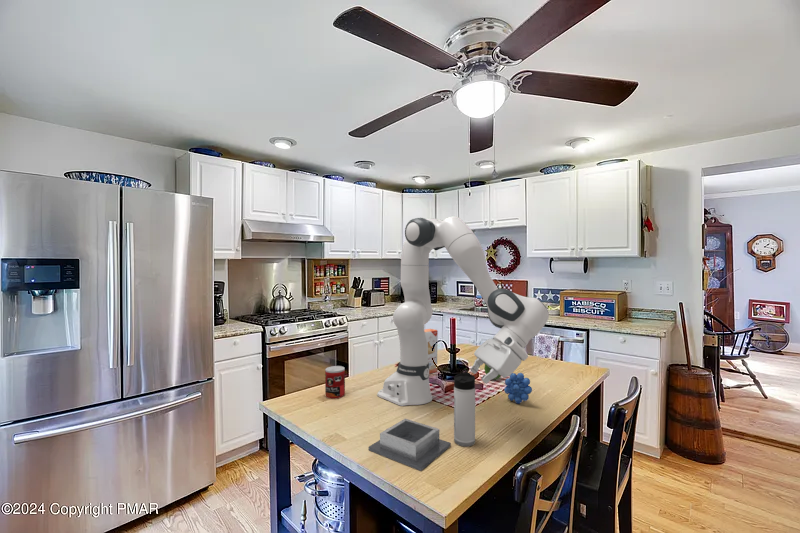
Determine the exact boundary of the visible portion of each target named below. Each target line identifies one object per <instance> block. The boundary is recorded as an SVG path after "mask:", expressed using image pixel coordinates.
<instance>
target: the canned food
mask: <svg viewBox="0 0 800 533" xmlns="http://www.w3.org/2000/svg"><path fill="white" fill-rule="evenodd" d="M324 372H325V374H324V376H325V377H324V381H325V382H324V384H325V387H324V388H325V397H326V398H327V399H332V400H333V399H335V400H336V399H340V398H342V397H344V396H345V394H346V369H345V367H344V366H342V365H331V366H328V367H326V368H325V370H324Z"/></svg>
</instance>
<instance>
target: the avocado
mask: <svg viewBox="0 0 800 533" xmlns="http://www.w3.org/2000/svg"><path fill="white" fill-rule="evenodd" d="M490 370H491V368H490V367H488V366H487V365H486V364H484V374H485V375H486V374H488V373H489V372H490ZM501 377H502V376H501V375H500V374H499V375H498V376H497V377H496V378H494V379H493V380H495V381H496V380H499V379H500V378H501Z"/></svg>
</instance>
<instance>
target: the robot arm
mask: <svg viewBox="0 0 800 533" xmlns="http://www.w3.org/2000/svg"><path fill="white" fill-rule="evenodd" d="M404 235H405V236H404V237H405V240H404V241H403V243H402V244H403V245H402V249H401V257H400V258H401V259H400V287H401V289H402V292H403V296H404V302H402V303H401V304H399V305H398V306H397V308H396V309H395V310H394V311H393V313H392V314H393V315H392V321H393V323H394V326H395V327H396V329H397V335H398V339H399V354H400V356H399V362H397V363H395V364H394V368H396V371H394V372H393V373H392V374H390V375H389V376H387V378H385V379H384V382H383V386H382V388H381V389H380V390H378V392H377V394H376V396H377V397H379V398H381V399H384V400H386V401H388V402H390V403H393V404H396V405H398V406H401V407H402V406H403V407H405V406H417V405H418V406H419V405H425V404H428V403H430V402H431V401H432V400H433V396H432V393H431V387H430V378H429V377H430V374H429V362H428V342H427V340H426V336H425V331H424V330H425V325H427V323H428V322H430V320H431V319H432V316H433V311H434V309H433V306H432V303H431V302H432V301H431V300H432V299H431V294H430V293H431V292H430V289H429V288H430V287H429V286H430V285H429V283H430V282H429V279H430V278H429V277H430V276H429V274H430V272H429V268H430V267H429V266H430V263H429V262H430V258H429V257H430V253H431V251H433V250H434V251H438V250H441V249H444V248H445V250H446V251H447V253H448V254H449V256H450V257H451V258H452V260H453V261H454V262H455V264H456V265H457V266H458V267H459V268H460V269H461V270H462V271H463V273H464V274H465V275H466V277H467V278H468V279H469V281H471V282H472V283H473V285H474V287H475V288H476V290H477V291H478V293H479V295H480V297H481V298H482V300H483V301H484V303H485V305H486V308H487V315H488V316H487V317H488V319H489V321H490V323H491V324H492V325H493V326H495V327H496V328H498V329H499V330H498V331H497V332H496V333H495V334H494V336H493V338H488V339H486V340H485V341H484V342H482V343H481V345H479V346H478V347H477V349H476V350H475V351H474V353H473V354H474V356H475V357H476V359H475V360H474V363H473V365H472V366H471V367H470V368H469V371H470V372H471V373H472V374H474V375H475V374H477V373H478V372H479V371H480V370H479V368H481V366H482V365H483V364H484V365H485V364H486V365H487V366H488V367H490V368H491V370H490V372H489V373H488V374H486V373H484V374H483V375H482V377H481V378H480V380H481V381H482V382H483V383H484V384H489V382H490V381H492V380H494V378H496V377H497V376H498V375H499V374H500V375H501V377H502V378H504V379H507V378H509V377H510V375H511V374H512V373H514V372H515V371H516V370H517V369H518V367H520V365H521V363H522V362H525V361H526V360H527V359H528V358H529V354H528V353H527V351H526V349H525V348H527V346H528V344H529V342H530V341H531V340H532V339H533V338H534V337H537V335H538V334H539V333H540V331H541V330H542V329H543V328H544V327H545V325H546V324H547V322H548V320H549V318H550V317H549V316H550V314H549V310H548V308H547V306H546V305H545V304H544V303H543V302H542V301H541V300H540V299H538V298H536V297H530V296H529V297H528V296H523V295H520V294H517V293H515V292H513V291H511V290H510V289H507V288H498V286H497V285H496V283H495V282H494V280H493V279H492V277H491V275H490V273H489V270H488V267H487V263H486V262H487V261H486V256H485V252H484V249H483V247H482V243H481V242H480V240H479V238H478V237H477V236H476V234H475V233H474V232H473V230H472V229H471V228H470V227H469V226H468V224H467V223H466V222H464V221H463V219H461V218H460V217H458V216H455V215H454V216H453V215H452V216H448V217H446V218H444V219H438V218H430V217H427V218H424V217H416V218H412V219H410V220H409V221H408V222H407V224H406V225H405V228H404Z"/></svg>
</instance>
